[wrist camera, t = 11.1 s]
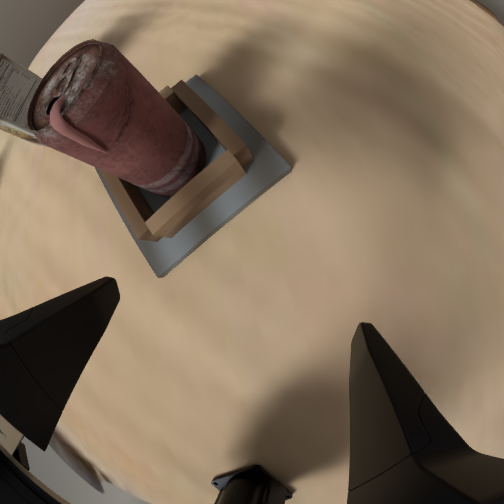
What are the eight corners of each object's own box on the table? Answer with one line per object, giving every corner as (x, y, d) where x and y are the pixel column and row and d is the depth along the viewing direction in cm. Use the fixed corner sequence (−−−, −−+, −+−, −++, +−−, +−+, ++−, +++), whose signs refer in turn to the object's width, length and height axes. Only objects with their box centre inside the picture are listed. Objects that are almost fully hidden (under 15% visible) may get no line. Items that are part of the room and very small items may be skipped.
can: (162, 214, 22) (23, 167, 8) (137, 160, 23) (23, 94, 9) (222, 173, 21) (117, 68, 7) (189, 121, 22) (97, 20, 8)
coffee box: (37, 146, 28) (-43, 114, 12) (54, 107, 28) (-19, 66, 12) (66, 151, 26) (-31, 109, 11) (87, 106, 26) (1, 50, 10)
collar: (163, 277, 23) (138, 279, 19) (100, 169, 25) (76, 159, 21) (291, 171, 21) (288, 152, 17) (199, 79, 23) (185, 57, 19)
